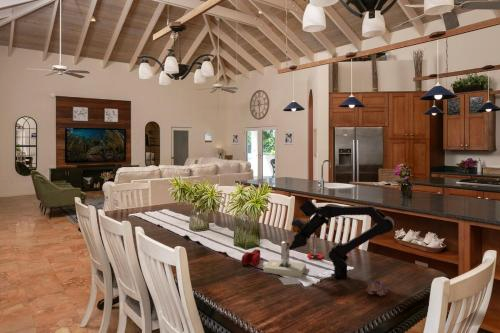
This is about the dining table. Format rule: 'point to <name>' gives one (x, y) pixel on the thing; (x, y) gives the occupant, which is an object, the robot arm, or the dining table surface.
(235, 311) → the dining table surface
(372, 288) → the skull
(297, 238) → the robot arm
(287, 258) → the steel pin
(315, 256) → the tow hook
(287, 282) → the pad
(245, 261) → the mechanical linkage
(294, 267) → the hole board
